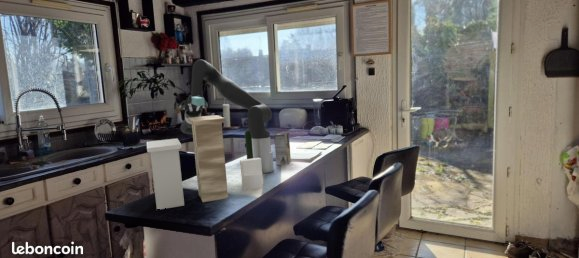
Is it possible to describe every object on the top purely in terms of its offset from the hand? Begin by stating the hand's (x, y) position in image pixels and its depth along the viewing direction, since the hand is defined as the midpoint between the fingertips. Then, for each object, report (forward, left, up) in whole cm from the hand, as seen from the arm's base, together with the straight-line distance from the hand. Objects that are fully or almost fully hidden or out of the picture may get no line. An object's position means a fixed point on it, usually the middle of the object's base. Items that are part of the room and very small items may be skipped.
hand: (194, 97), depth 176 cm
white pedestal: (+16, +23, -40) cm, 49 cm away
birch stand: (-1, +23, -40) cm, 46 cm away
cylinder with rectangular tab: (-19, +18, -40) cm, 48 cm away
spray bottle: (-36, -38, -40) cm, 66 cm away
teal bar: (0, +7, -3) cm, 8 cm away
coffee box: (-46, -18, -40) cm, 63 cm away
